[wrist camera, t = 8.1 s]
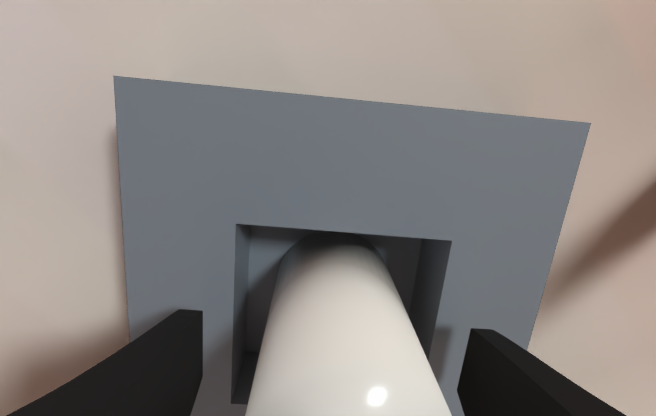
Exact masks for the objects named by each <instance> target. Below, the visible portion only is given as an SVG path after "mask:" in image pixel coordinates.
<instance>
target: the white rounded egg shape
mask: <svg viewBox="0 0 656 416" xmlns="http://www.w3.org/2000/svg"><path fill="white" fill-rule="evenodd" d="M245 416H452V415H451V413H450V410H449V408H448V406H447V403H446V401H445V399H444V397H443V394H442V392H441V390H440V387H439V385H438V383H437V381H436V378H435V376H434V374H433V371H432V369H431V367H430V365H429V362H428V360H427V358H426V355H425V353H424V351H423V349H422V346H421V344H420V342H419V339H418V337H417V335H416V333H415V330H414V328H413V326H412V323H411V321H410V319H409V317H408V314H407V312H406V310H405V307H404V305H403V303H402V301H401V298H400V296H399V294H398V291H397V289H396V287H395V285H394V282H393V280H392V278H391V275H390V273H389V271H388V269H387V266H386V264H385V262H384V259H383V258H382V256H381V254H380V253H379V251H378V250H377V249H376V248H375V247H374V246H373V245H372V244H371V243H370V242H369V241H367V240H366V239H365V238H363V237H361V236H359V235H357V234H354V233H348V232H335V231H320V232H316V233H313V234H310V235H308V236H306V237H304V238H303V239H301V240H299V241H298V242H297V243H295V244H294V245H293V246H292V247H291V248H290V249H289V251H288V252H287V253H286V254H285V256H284V258H283V260H282V262H281V264H280V267H279V271H278V275H277V279H276V284H275V288H274V292H273V297H272V301H271V305H270V310H269V314H268V318H267V323H266V327H265V331H264V336H263V340H262V345H261V349H260V353H259V358H258V362H257V366H256V371H255V375H254V379H253V384H252V388H251V392H250V397H249V401H248V405H247V410H246V414H245Z"/></svg>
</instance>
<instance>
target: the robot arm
mask: <svg viewBox="0 0 656 416" xmlns="http://www.w3.org/2000/svg"><path fill="white" fill-rule="evenodd" d="M202 377H203V311H201V310H186V309H179V310H177V311H175V312H174V313H172V314H171V315H169V316H168V317H167V318H165V319H164V320H162V321H161V322H159V323H158V324H157V325H155V326H154V327H152V328H151V329H150V330H148V331H147V332H145V333H144V334H142V335H141V336H139V337H138V338H137V339H135V340H134V341H132V342H131V343H129V344H128V345H126V346H125V347H123V348H122V349H120V350H119V351H118V352H116V353H114V354H113V355H111V356H110V357H108V358H107V359H105V360H103V361H102V362H100V363H99V364H97V365H95V366H94V367H92V368H91V369H89V370H87V371H86V372H84V373H83V374H81V375H79V376H78V377H76V378H75V379H73V380H71V381H70V382H68V383H66V384H64V385H63V386H61V387H59V388H57V389H56V390H54V391H52V392H50V393H48V394H47V395H45V396H43V397H41V398H39V399H37V400H35V401H34V402H32V403H30V404H28V405H26V406H24V407H22V408H20V409H18V410H17V411H15V412H13V413H11V414H9V415H7V416H190V415H191V412H192V409H193V406H194V403H195V400H196V397H197V393H198V390H199V387H200V384H201V380H202ZM457 393H458V396H459V399H460V403H461V406H462V409H463V412H464V415H465V416H626V415H624V414H623V413H621V412H619V411H618V410H616V409H615V408H613V407H611V406H610V405H608V404H607V403H605V402H603V401H602V400H600V399H598V398H597V397H595V396H594V395H592V394H590V393H589V392H587V391H586V390H584V389H583V388H581V387H580V386H578V385H577V384H575V383H574V382H572V381H571V380H569V379H568V378H566V377H565V376H563V375H562V374H560V373H559V372H557V371H556V370H554V369H553V368H551V367H550V366H548V365H547V364H545V363H544V362H542V361H541V360H539V359H538V358H536V357H535V356H534V355H532V354H531V353H529V352H528V351H526V350H525V349H523V348H522V347H520V346H519V345H517V344H516V343H514V342H513V341H511V340H510V339H508V338H506V337H505V336H503V335H502V334H500V333H498V332H496V331H495V330H493V329H477V328H471V330H470V334H469V339H468V343H467V347H466V352H465V356H464V361H463V365H462V369H461V374H460V378H459V382H458V387H457Z"/></svg>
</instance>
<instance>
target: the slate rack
mask: <svg viewBox="0 0 656 416" xmlns="http://www.w3.org/2000/svg"><path fill="white" fill-rule="evenodd" d="M114 92H115V109H116V125H117V141H118V158H119V174H120V190H121V207H122V223H123V239H124V256H125V272H126V288H127V305H128V321H129V337H130V343H131V342H132V341H134V340H135V339H137V338H138V337H139V336H141V335H142V334H144V333H145V332H147V331H148V330H150V329H151V328H152V327H154V326H155V325H157V324H158V323H159V322H161V321H162V320H164V319H165V318H167V317H168V316H169V315H171V314H172V313H174V312H175V311H177V310H179V309H186V310H201V311H203V377H202V380H201V384H200V387H199V390H198V393H197V397H196V400H195V403H194V406H193V409H192V412H191V415H190V416H245V414H246V410H247V405H248V401H249V397H250V392H251V388H252V384H253V379H254V375H255V371H256V366H257V362H258V358H259V353H260V349H261V345H262V340H263V336H264V331H265V327H266V323H267V318H268V314H269V310H270V305H271V301H272V297H273V292H274V288H275V284H276V279H277V275H278V271H279V267H280V264H281V262H282V260H283V258H284V256H285V254H286V253H287V252H288V251H289V249H290V248H291V247H292V246H293V245H294V244H295V243H297V242H298V241H299V240H301V239H303V238H304V237H306V236H308V235H310V234H313V233H316V232H320V231H335V232H348V233H354V234H357V235H359V236H361V237H363V238H365V239H366V240H367V241H369V242H370V243H371V244H372V245H373V246H374V247H375V248H376V249H377V250H378V251H379V253H380V254H381V256H382V258H383V259H384V262H385V264H386V266H387V269H388V271H389V273H390V275H391V278H392V280H393V282H394V285H395V287H396V289H397V291H398V294H399V296H400V298H401V301H402V303H403V305H404V307H405V310H406V312H407V314H408V317H409V319H410V321H411V323H412V326H413V328H414V330H415V333H416V335H417V337H418V339H419V342H420V344H421V346H422V349H423V351H424V353H425V355H426V358H427V360H428V362H429V365H430V367H431V369H432V371H433V374H434V376H435V378H436V381H437V383H438V385H439V387H440V390H441V392H442V394H443V397H444V399H445V401H446V403H447V406H448V408H449V410H450V413H451V415H452V416H465V415H464V412H463V409H462V406H461V403H460V399H459V396H458V393H457V387H458V382H459V378H460V374H461V369H462V365H463V361H464V356H465V352H466V347H467V343H468V339H469V334H470V330H471V328H477V329H493V330H495V331H496V332H498V333H500V334H502V335H503V336H505V337H506V338H508V339H510V340H511V341H513V342H514V343H516V344H517V345H519V346H520V347H522V348H523V349H525V350H526V351H527V348H528V345H529V341H530V337H531V334H532V330H533V327H534V323H535V320H536V316H537V313H538V309H539V306H540V302H541V298H542V295H543V291H544V288H545V284H546V281H547V277H548V274H549V270H550V267H551V263H552V260H553V256H554V252H555V249H556V245H557V242H558V238H559V235H560V231H561V228H562V224H563V221H564V217H565V213H566V210H567V206H568V203H569V199H570V196H571V192H572V189H573V185H574V182H575V178H576V175H577V171H578V167H579V164H580V160H581V157H582V153H583V150H584V146H585V143H586V139H587V136H588V132H589V128H590V125H591V123H585V122H575V121H565V120H555V119H545V118H534V117H524V116H514V115H504V114H494V113H484V112H474V111H464V110H454V109H443V108H433V107H423V106H413V105H403V104H393V103H383V102H373V101H363V100H353V99H342V98H332V97H322V96H312V95H302V94H292V93H282V92H272V91H262V90H252V89H241V88H231V87H221V86H211V85H201V84H191V83H181V82H171V81H161V80H151V79H140V78H130V77H120V76H114Z"/></svg>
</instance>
